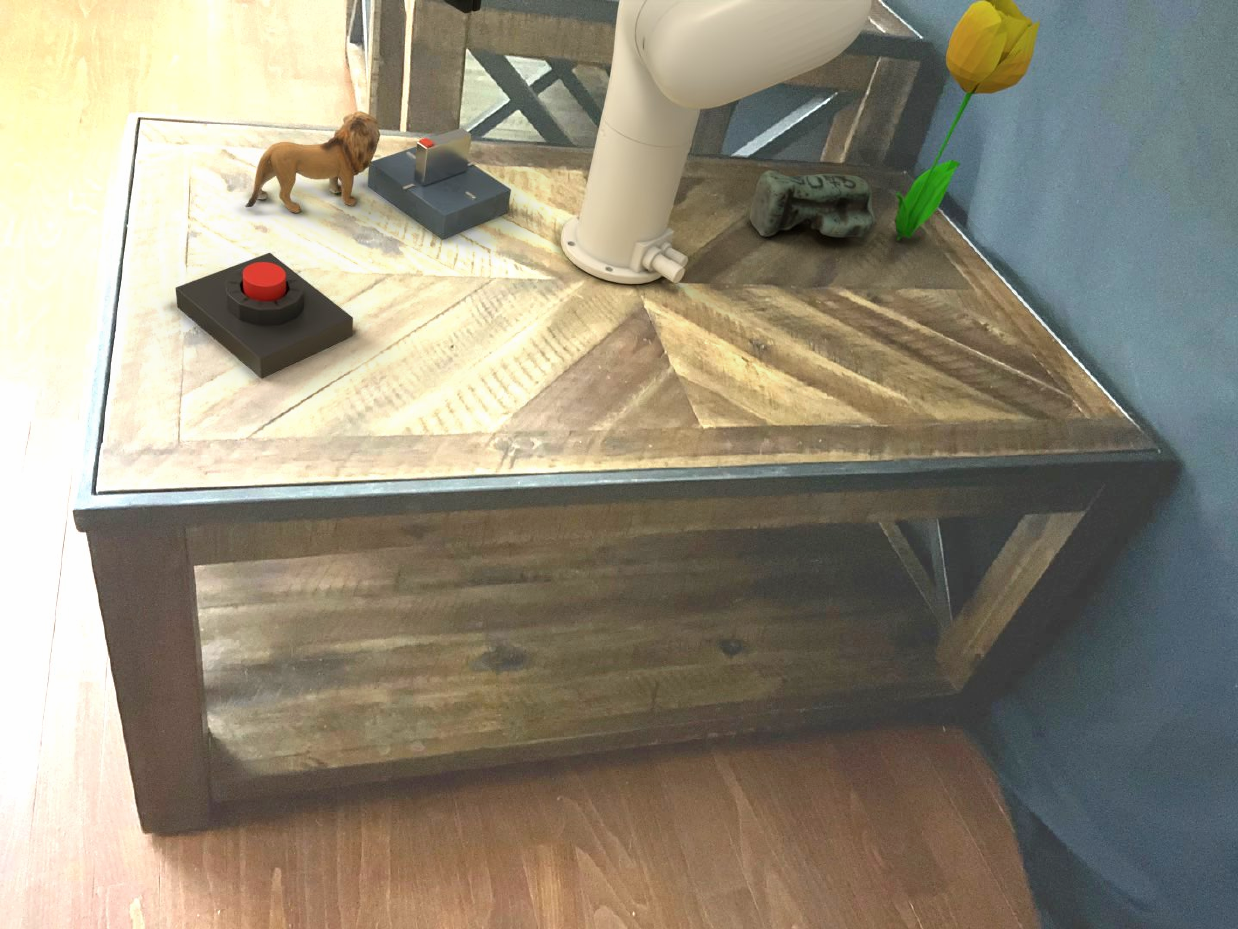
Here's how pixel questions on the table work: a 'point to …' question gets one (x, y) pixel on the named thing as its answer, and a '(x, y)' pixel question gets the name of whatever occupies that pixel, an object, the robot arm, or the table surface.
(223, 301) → the button box
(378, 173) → the panel
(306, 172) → the lion figurine
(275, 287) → the red button
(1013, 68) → the flower
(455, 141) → the tap handle
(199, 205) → the table surface
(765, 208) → the sculpture
